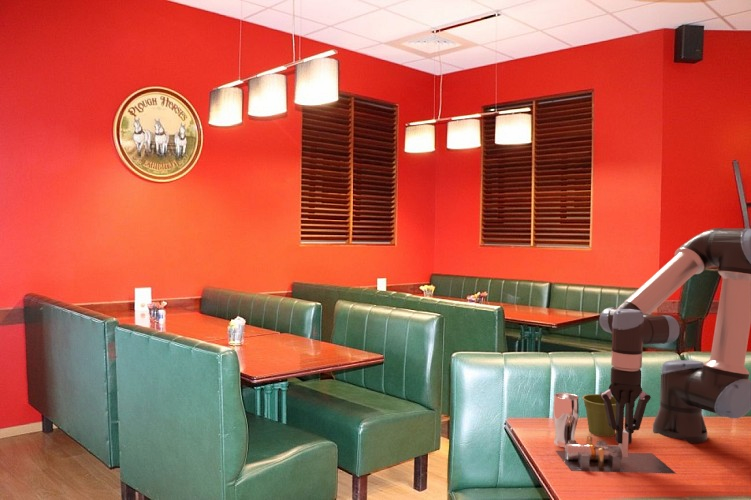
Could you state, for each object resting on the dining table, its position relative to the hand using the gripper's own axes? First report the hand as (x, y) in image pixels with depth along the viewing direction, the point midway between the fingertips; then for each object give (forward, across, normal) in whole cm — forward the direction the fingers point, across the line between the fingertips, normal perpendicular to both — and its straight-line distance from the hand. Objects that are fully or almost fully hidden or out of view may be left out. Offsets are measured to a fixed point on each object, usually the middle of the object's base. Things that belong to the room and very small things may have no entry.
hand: (623, 455), depth 165 cm
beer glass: (+3, +12, -13) cm, 18 cm away
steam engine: (+3, +2, 0) cm, 4 cm away
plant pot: (+3, -3, -24) cm, 24 cm away
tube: (+2, +8, 0) cm, 8 cm away
